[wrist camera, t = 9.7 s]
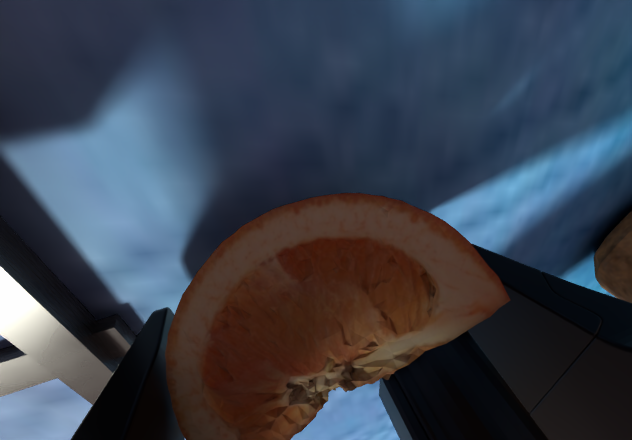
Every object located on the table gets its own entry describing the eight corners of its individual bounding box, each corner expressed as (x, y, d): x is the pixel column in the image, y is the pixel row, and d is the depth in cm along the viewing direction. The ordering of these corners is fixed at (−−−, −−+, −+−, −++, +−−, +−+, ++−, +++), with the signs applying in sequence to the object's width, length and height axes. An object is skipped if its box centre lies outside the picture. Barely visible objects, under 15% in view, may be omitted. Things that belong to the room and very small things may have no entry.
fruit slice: (258, 351, 13) (286, 499, 9) (110, 279, 9) (44, 501, 5) (420, 237, 12) (528, 346, 8) (346, 95, 8) (496, 184, 4)
